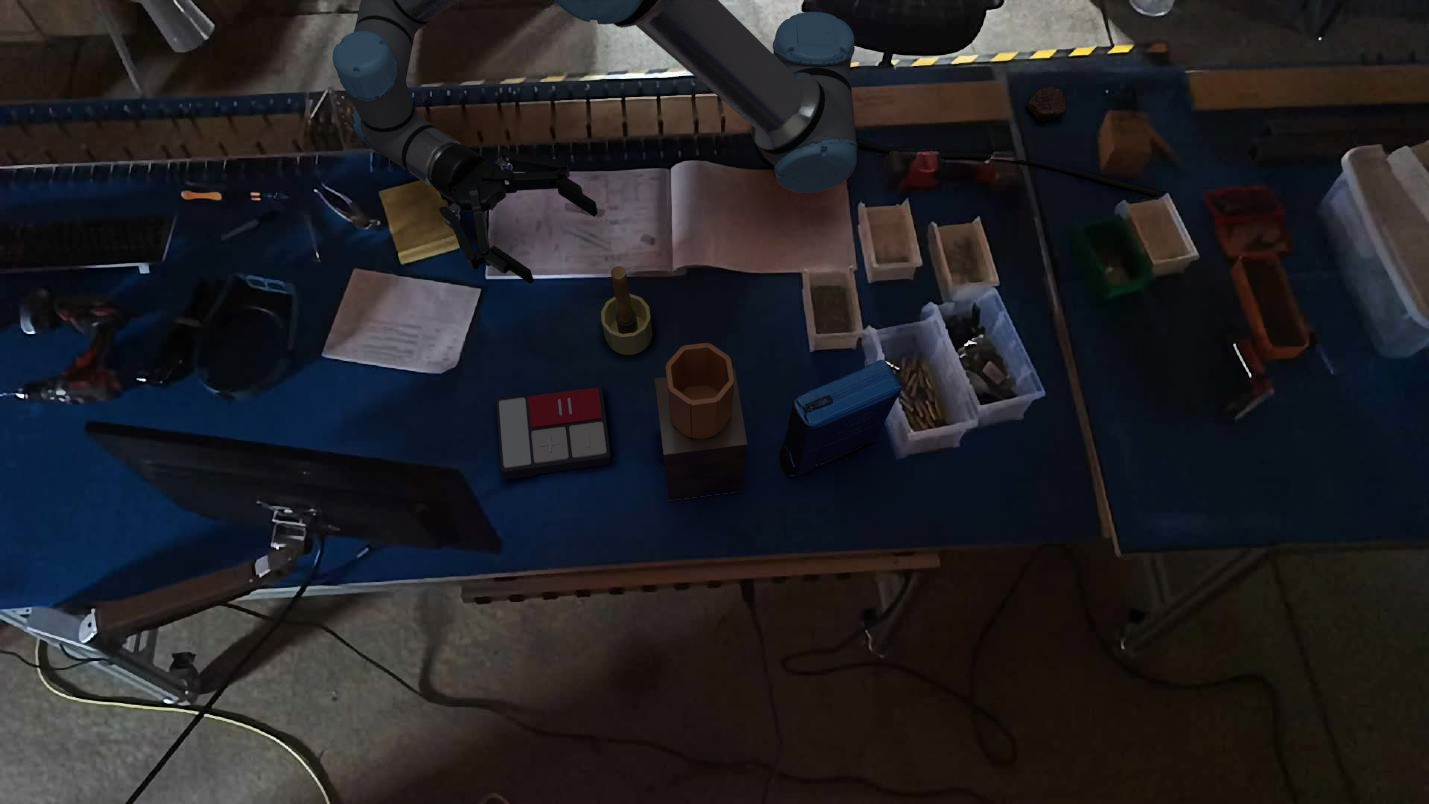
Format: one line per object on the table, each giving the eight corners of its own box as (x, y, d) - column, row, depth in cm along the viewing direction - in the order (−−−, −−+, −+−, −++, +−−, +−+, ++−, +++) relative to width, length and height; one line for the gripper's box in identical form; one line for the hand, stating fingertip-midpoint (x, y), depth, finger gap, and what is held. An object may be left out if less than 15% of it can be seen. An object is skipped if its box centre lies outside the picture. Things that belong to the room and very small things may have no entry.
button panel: (610, 455, 116) (499, 470, 114) (612, 465, 120) (505, 480, 118) (601, 383, 120) (494, 396, 118) (603, 395, 124) (499, 408, 122)
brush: (637, 322, 128) (628, 261, 112) (639, 340, 127) (630, 281, 111) (617, 325, 128) (605, 264, 112) (619, 342, 126) (607, 283, 111)
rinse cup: (649, 311, 129) (647, 291, 124) (654, 352, 126) (652, 333, 121) (603, 316, 129) (599, 296, 123) (607, 357, 126) (603, 339, 120)
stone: (1027, 126, 144) (1034, 113, 141) (1019, 93, 147) (1026, 80, 144) (1065, 125, 144) (1073, 112, 141) (1056, 93, 147) (1064, 79, 144)
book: (789, 485, 119) (805, 434, 100) (772, 452, 120) (784, 396, 102) (878, 444, 121) (909, 387, 103) (860, 413, 123) (887, 352, 105)
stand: (730, 427, 122) (735, 368, 103) (740, 493, 118) (747, 444, 100) (661, 436, 121) (654, 378, 103) (669, 503, 117) (663, 455, 99)
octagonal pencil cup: (725, 379, 103) (728, 339, 93) (734, 434, 100) (737, 399, 90) (666, 387, 102) (663, 347, 93) (673, 442, 100) (670, 407, 90)
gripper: (512, 129, 127) (622, 199, 123) (394, 241, 119) (507, 320, 115) (501, 93, 120) (618, 165, 116) (375, 209, 112) (495, 292, 108)
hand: (563, 242), depth 115 cm, fingers open, 13 cm apart
